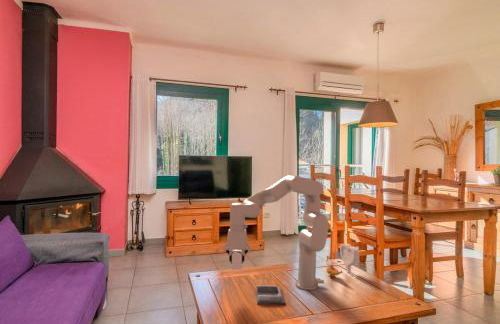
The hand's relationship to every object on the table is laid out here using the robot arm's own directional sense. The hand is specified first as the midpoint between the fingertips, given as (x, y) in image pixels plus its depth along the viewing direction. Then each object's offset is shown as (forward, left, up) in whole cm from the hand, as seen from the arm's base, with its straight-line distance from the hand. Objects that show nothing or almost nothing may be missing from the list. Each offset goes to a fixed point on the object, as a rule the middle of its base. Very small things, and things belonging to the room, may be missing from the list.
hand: (236, 262), depth 148 cm
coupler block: (0, 0, -2) cm, 2 cm away
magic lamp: (-59, -25, -18) cm, 66 cm away
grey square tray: (-18, +1, -17) cm, 25 cm away
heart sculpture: (-70, -32, -18) cm, 79 cm away
